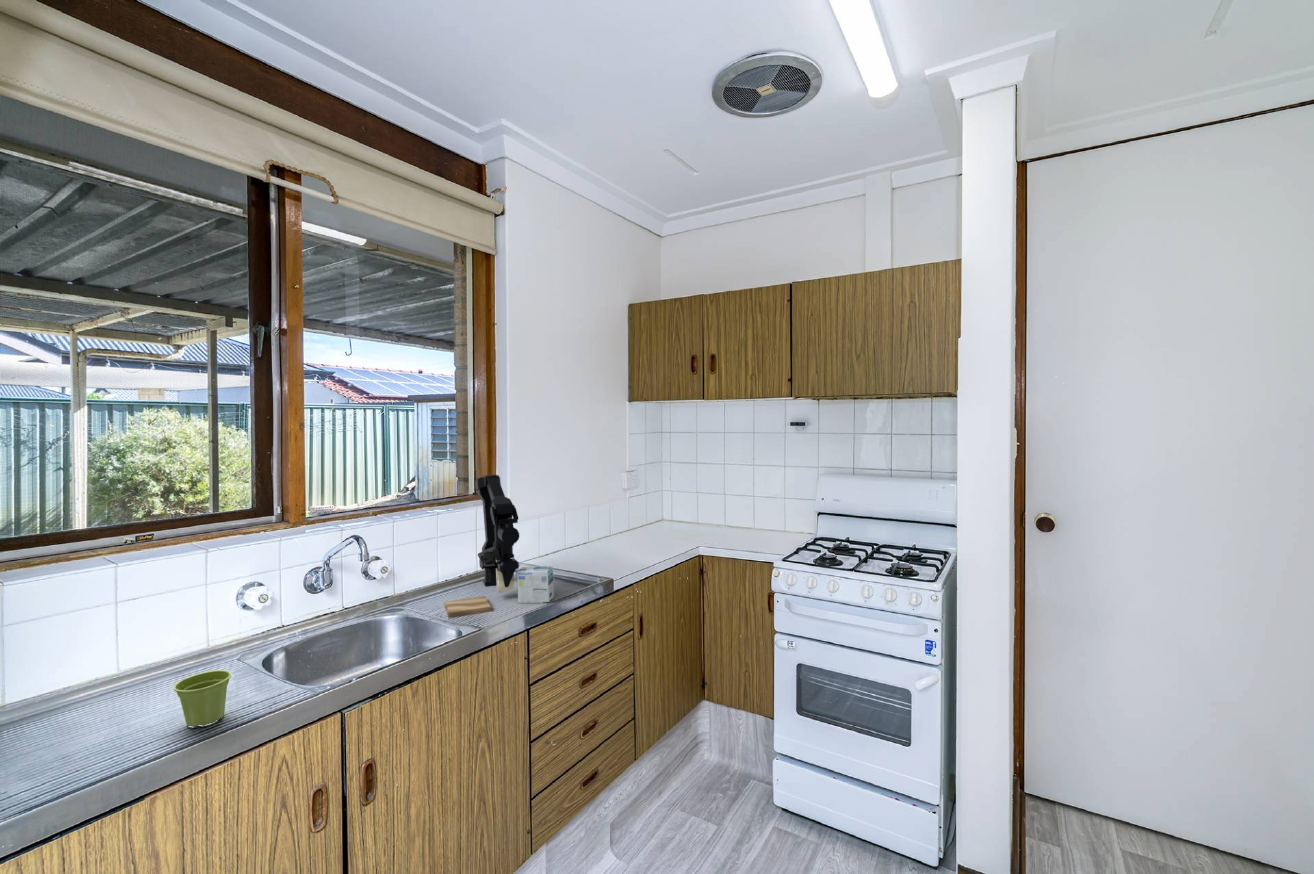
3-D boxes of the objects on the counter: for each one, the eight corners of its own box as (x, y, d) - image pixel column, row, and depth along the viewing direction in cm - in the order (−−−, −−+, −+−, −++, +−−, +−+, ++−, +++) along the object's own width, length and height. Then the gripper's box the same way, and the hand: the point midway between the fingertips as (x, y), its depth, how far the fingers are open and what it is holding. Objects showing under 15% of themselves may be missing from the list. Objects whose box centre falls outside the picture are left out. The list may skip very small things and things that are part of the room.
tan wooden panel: (444, 607, 192) (444, 601, 192) (485, 601, 198) (485, 595, 197) (448, 619, 180) (448, 613, 180) (492, 613, 186) (491, 606, 186)
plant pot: (187, 738, 114) (185, 694, 114) (167, 726, 119) (165, 684, 119) (241, 717, 122) (239, 676, 122) (221, 706, 127) (219, 666, 127)
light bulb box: (554, 597, 199) (553, 565, 199) (549, 603, 192) (548, 570, 192) (523, 597, 200) (522, 565, 199) (517, 603, 193) (516, 571, 193)
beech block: (496, 588, 201) (496, 568, 200) (511, 586, 203) (510, 566, 203) (499, 592, 196) (498, 571, 196) (514, 590, 198) (513, 569, 198)
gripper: (475, 536, 204) (476, 581, 205) (483, 547, 187) (484, 595, 188) (507, 533, 209) (509, 577, 209) (518, 543, 192) (519, 590, 192)
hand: (505, 584), depth 199 cm, fingers closed on beech block, 5 cm apart
